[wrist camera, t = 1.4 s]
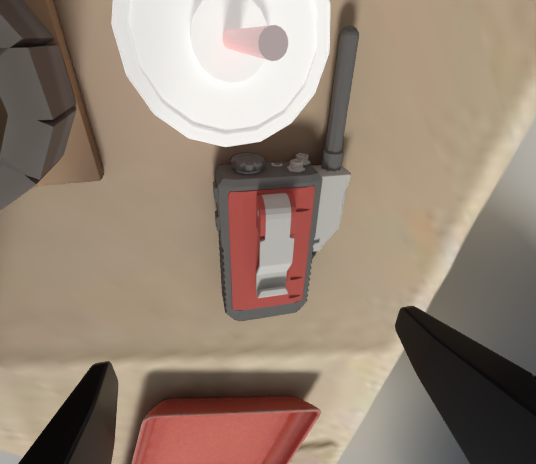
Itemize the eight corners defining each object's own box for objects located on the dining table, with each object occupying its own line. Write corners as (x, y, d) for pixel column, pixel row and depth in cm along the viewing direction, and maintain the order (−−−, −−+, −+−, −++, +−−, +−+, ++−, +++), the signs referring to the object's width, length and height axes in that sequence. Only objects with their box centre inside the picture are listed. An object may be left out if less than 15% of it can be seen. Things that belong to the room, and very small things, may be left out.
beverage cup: (285, 10, 17) (530, -47, 5) (234, 120, 19) (322, 255, 7) (169, -74, 14) (123, -601, 2) (127, 65, 16) (-5, 140, 5)
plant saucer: (145, 384, 30) (142, 420, 27) (313, 382, 36) (325, 411, 33) (122, 481, 37) (117, 517, 35) (263, 466, 44) (269, 495, 41)
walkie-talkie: (318, 291, 29) (357, 27, 18) (338, 329, 25) (402, 25, 14) (220, 306, 27) (201, 20, 16) (226, 349, 23) (207, 15, 13)
